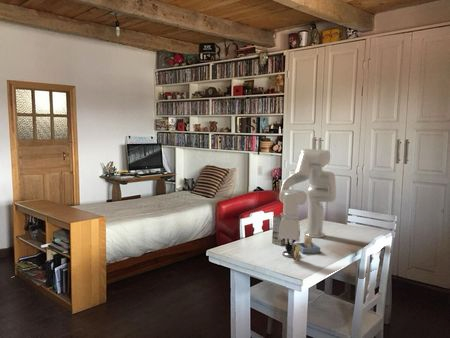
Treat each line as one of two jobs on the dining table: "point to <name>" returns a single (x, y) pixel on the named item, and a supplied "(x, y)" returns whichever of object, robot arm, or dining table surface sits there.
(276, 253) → the dining table surface
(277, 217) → the coffee box
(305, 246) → the stop peg
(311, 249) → the tray
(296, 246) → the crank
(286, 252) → the crank base
